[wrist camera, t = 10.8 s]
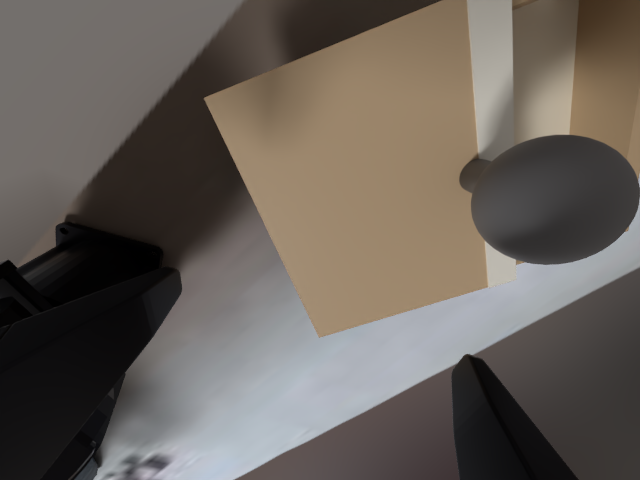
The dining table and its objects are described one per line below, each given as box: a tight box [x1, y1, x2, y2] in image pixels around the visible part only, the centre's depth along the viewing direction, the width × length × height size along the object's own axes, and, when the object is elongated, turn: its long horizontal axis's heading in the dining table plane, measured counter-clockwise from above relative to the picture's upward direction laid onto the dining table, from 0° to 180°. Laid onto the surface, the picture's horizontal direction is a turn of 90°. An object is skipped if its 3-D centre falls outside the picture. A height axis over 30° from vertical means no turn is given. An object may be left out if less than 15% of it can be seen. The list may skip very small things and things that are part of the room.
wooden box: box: [512, 0, 640, 265], centre depth 15 cm, size 12×14×4 cm
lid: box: [204, 0, 640, 338], centre depth 11 cm, size 13×14×7 cm
